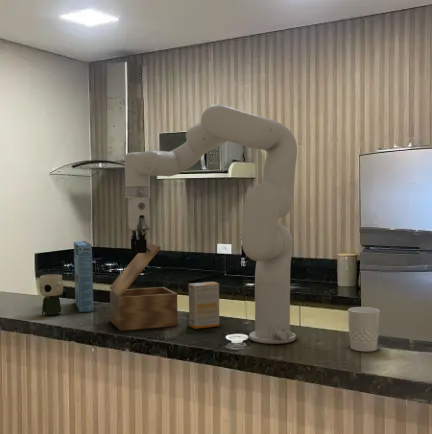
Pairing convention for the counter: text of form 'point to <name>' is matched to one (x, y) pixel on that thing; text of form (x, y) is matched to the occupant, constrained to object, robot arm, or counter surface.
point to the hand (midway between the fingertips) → (138, 251)
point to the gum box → (83, 276)
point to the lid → (134, 269)
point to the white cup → (363, 328)
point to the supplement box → (203, 305)
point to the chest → (143, 308)
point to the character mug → (51, 293)
